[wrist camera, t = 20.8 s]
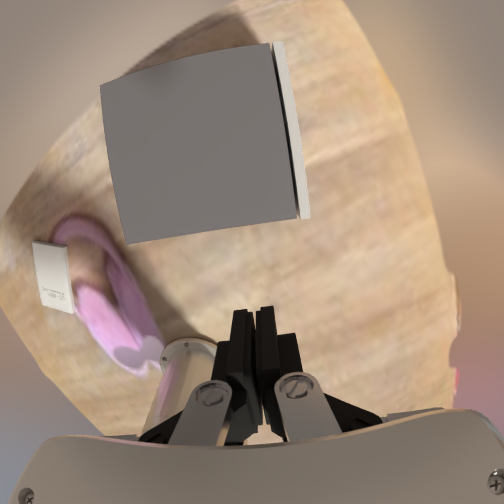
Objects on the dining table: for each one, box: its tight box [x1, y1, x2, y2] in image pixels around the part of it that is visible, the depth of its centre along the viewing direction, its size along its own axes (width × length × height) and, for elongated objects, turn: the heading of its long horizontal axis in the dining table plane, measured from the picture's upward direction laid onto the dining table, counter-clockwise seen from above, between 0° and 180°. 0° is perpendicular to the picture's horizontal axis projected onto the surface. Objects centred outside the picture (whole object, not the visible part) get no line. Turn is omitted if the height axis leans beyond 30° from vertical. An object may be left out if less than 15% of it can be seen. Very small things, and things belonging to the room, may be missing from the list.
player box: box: [100, 43, 297, 245], centre depth 30 cm, size 18×18×10 cm
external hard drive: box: [32, 240, 75, 313], centre depth 41 cm, size 2×8×12 cm
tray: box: [271, 41, 311, 219], centre depth 30 cm, size 18×18×9 cm
